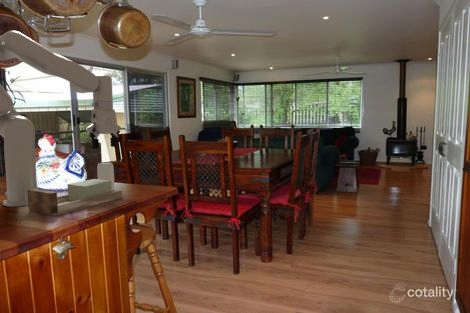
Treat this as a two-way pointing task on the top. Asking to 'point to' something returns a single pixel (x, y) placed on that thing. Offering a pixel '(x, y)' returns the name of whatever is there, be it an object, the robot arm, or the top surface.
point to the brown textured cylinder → (92, 160)
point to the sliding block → (88, 189)
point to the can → (106, 172)
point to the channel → (63, 202)
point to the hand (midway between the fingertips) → (105, 147)
